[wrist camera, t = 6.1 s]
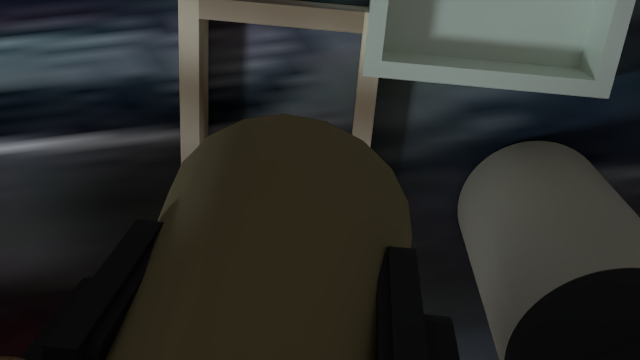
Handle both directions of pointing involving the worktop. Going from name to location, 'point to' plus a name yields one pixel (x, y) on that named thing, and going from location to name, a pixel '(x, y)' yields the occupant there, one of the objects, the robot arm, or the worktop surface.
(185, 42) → the socket
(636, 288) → the travel mug
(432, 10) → the tray
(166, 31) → the worktop surface
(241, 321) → the brown rounded lump
